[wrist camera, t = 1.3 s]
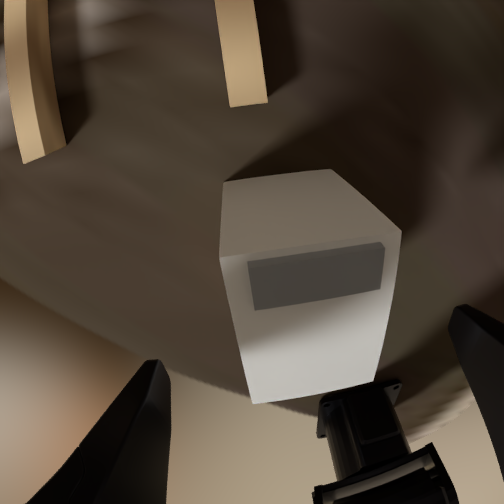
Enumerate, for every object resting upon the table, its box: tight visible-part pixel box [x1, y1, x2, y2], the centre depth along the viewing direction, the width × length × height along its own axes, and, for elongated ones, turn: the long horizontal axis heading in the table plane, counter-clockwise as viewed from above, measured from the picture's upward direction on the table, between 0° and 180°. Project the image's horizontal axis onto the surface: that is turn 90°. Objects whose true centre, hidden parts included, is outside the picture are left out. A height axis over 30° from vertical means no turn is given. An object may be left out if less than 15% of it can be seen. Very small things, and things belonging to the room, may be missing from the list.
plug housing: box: [219, 169, 402, 404], centre depth 11 cm, size 6×4×6 cm
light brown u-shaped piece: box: [4, 0, 268, 164], centre depth 6 cm, size 9×9×4 cm
